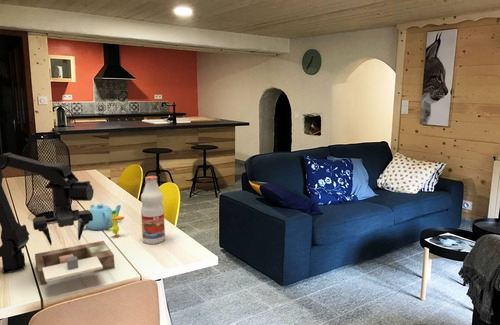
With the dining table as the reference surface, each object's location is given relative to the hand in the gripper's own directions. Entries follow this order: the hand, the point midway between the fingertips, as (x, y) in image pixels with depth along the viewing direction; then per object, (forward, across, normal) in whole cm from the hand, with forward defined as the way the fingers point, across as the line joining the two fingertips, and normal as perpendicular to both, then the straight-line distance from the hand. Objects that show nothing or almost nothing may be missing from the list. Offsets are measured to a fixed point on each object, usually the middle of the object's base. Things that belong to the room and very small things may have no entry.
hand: (65, 242), depth 139 cm
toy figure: (+10, +24, +23) cm, 34 cm away
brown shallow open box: (+10, +3, 0) cm, 10 cm away
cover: (+5, 0, -13) cm, 14 cm away
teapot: (+10, +21, +41) cm, 47 cm away
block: (+10, 0, 0) cm, 10 cm away
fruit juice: (+10, +36, +10) cm, 38 cm away
